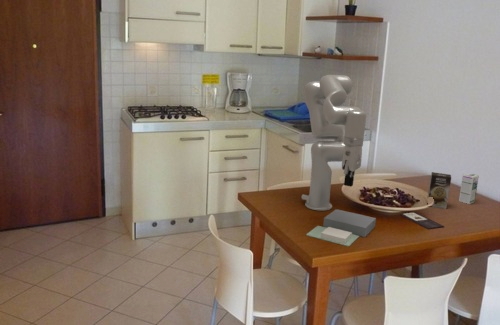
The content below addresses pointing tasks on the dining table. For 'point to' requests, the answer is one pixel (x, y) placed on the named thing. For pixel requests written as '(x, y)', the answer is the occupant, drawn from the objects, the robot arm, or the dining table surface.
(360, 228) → the block
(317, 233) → the mat
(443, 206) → the coffee box
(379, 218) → the dining table surface
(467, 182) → the syrup box
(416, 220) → the chocolate bar
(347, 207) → the dining table surface
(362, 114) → the robot arm
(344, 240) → the tile
